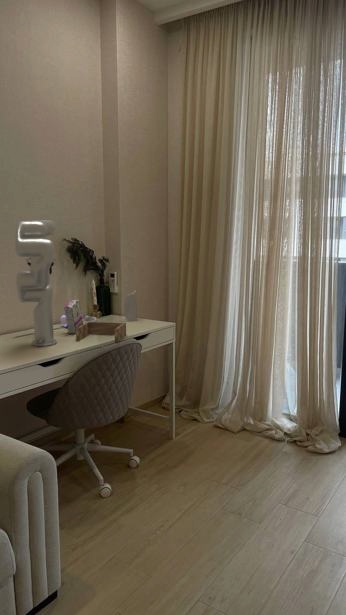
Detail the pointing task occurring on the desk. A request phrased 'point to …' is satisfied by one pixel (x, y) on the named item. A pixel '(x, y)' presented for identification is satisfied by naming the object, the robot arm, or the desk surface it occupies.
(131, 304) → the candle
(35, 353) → the desk surface
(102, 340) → the desk surface
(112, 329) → the brown bent panel
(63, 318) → the headphones
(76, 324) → the candy bar box
